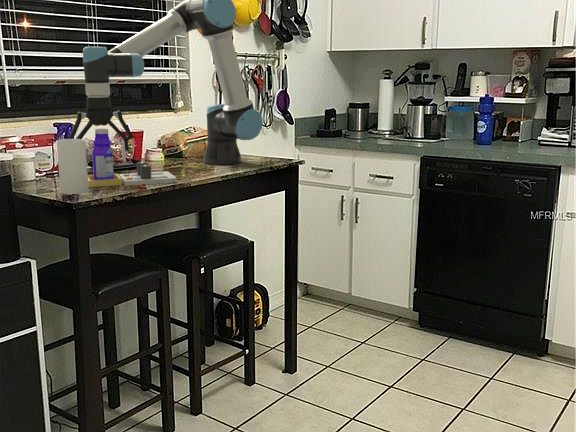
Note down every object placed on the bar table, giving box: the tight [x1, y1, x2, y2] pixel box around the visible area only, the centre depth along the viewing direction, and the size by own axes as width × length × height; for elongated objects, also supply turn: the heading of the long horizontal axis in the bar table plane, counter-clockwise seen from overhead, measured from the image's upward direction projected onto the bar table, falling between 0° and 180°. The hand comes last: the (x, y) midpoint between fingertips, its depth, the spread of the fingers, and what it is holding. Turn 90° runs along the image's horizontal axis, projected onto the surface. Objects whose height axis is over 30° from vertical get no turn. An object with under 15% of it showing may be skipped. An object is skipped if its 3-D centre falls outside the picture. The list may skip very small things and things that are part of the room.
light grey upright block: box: [56, 138, 90, 196], centre depth 191 cm, size 8×8×16 cm
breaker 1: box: [136, 161, 148, 175], centre depth 214 cm, size 3×3×4 cm
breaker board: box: [118, 171, 178, 187], centre depth 213 cm, size 17×14×2 cm
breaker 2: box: [140, 164, 152, 179], centre depth 208 cm, size 3×3×4 cm
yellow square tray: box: [88, 173, 123, 188], centre depth 207 cm, size 11×11×2 cm
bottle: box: [91, 128, 115, 180], centre depth 205 cm, size 7×6×17 cm
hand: (103, 161), depth 206 cm, fingers open, 13 cm apart
